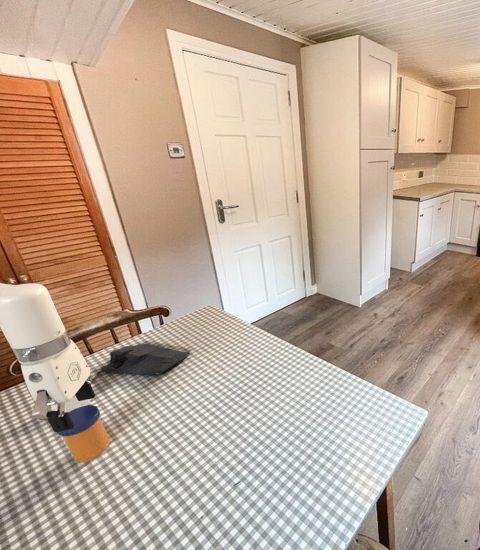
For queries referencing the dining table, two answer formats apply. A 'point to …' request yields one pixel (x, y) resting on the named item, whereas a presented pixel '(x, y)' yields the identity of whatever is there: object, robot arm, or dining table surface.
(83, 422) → the lid
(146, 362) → the dark slate chunk
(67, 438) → the jar
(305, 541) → the dining table surface
